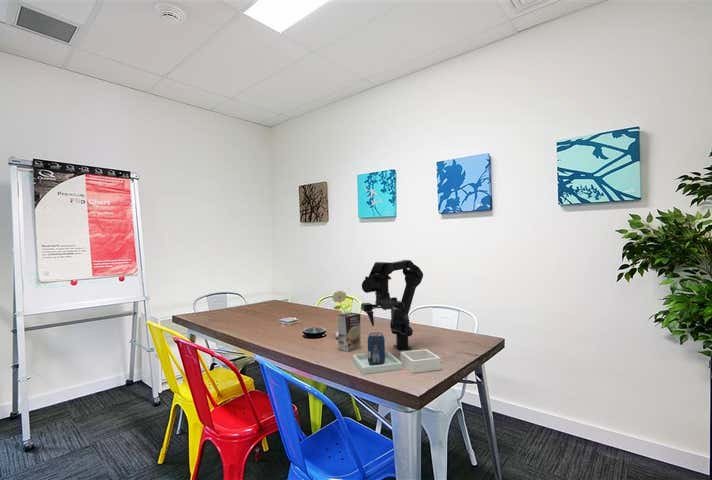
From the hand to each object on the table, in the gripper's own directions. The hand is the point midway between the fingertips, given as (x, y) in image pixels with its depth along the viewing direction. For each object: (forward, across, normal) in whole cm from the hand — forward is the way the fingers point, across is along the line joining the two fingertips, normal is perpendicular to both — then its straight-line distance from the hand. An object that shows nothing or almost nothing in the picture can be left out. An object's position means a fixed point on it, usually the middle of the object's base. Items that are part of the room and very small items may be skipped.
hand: (382, 325), depth 151 cm
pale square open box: (+13, +9, -18) cm, 24 cm away
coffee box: (+13, -12, +14) cm, 23 cm away
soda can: (+13, -7, -11) cm, 18 cm away
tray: (+13, -7, -11) cm, 18 cm away
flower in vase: (+13, -10, +33) cm, 37 cm away
